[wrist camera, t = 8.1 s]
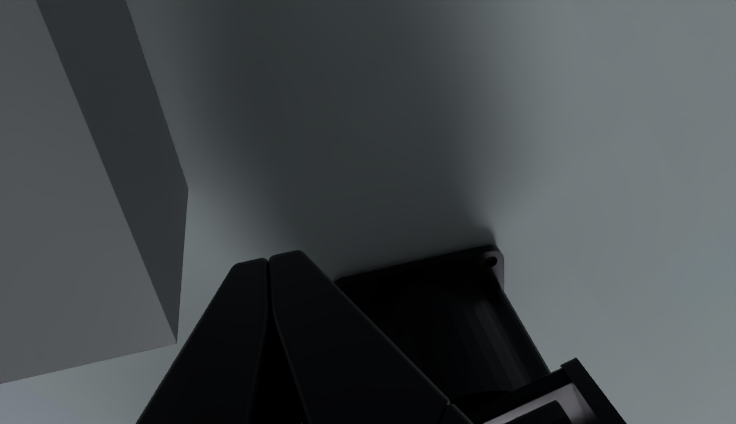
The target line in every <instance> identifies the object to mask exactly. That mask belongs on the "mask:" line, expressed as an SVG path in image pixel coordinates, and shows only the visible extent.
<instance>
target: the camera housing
mask: <svg viewBox="0 0 736 424" xmlns="http://www.w3.org/2000/svg"><path fill="white" fill-rule="evenodd" d="M187 198H188V187H187V184H186V181H185V178H184V175H183V172H182V169H181V166H180V163H179V160H178V157H177V154H176V151H175V148H174V145H173V142H172V139H171V136H170V133H169V130H168V127H167V124H166V121H165V118H164V115H163V112H162V109H161V106H160V103H159V100H158V97H157V94H156V91H155V88H154V85H153V82H152V79H151V76H150V73H149V70H148V67H147V64H146V61H145V58H144V55H143V52H142V49H141V46H140V43H139V40H138V37H137V34H136V31H135V28H134V25H133V22H132V19H131V16H130V13H129V10H128V7H127V4H126V1H125V0H0V384H2V383H7V382H11V381H15V380H20V379H24V378H28V377H33V376H37V375H41V374H46V373H50V372H55V371H59V370H63V369H68V368H72V367H76V366H81V365H85V364H89V363H94V362H98V361H103V360H107V359H111V358H116V357H120V356H124V355H129V354H133V353H137V352H142V351H146V350H151V349H155V348H159V347H164V346H168V345H172V344H177V334H178V321H179V307H180V293H181V280H182V266H183V253H184V239H185V226H186V212H187Z"/></svg>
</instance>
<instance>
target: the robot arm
mask: <svg viewBox="0 0 736 424" xmlns="http://www.w3.org/2000/svg"><path fill="white" fill-rule="evenodd" d="M489 257H493V258H492V259H491V260H489V261H485V260H486V259H487V258H489ZM343 290H349V292H347V293H345V294H344V293H343V292H342V291H343ZM301 423H302V424H626V422H625V421H624V420H623V418H622V417H621V416H620V414H619V413H618V412H617V410H616V409H615V408H614V406H613V405H612V404H611V403H610V401H609V400H608V399H607V397H606V396H605V395H604V393H603V392H602V391H601V389H600V388H599V387H598V385H597V384H596V383H595V381H594V380H593V379H592V377H591V376H590V375H589V373H588V372H587V371H586V369H585V368H584V367H583V365H582V364H581V363H580V362H579V360H578V359H577V358H574V359H572V360H570V361H568V362H566V363H564V364H562V365H561V368H560V369H558V370H556V371H554V372H552V373H551V372H550V370H549V369H548V367H547V365H546V363H545V362H544V360H543V358H542V357H541V355H540V353H539V351H538V350H537V348H536V346H535V344H534V343H533V341H532V339H531V338H530V336H529V334H528V332H527V331H526V329H525V327H524V325H523V324H522V322H521V320H520V319H519V317H518V315H517V313H516V312H515V310H514V308H513V306H512V305H511V303H510V301H509V300H508V298H507V296H506V294H505V293H504V258H503V255H502V253H501V252H500V250H499V249H498V248H497V247H496V246H494V245H485V246H481V247H476V248H472V249H468V250H463V251H459V252H454V253H450V254H445V255H441V256H436V257H432V258H428V259H423V260H419V261H414V262H410V263H405V264H401V265H396V266H392V267H388V268H383V269H379V270H374V271H370V272H365V273H361V274H357V275H352V276H348V277H343V278H340V279H338V280H336V281H335V282H334V283H333V282H332V281H331V280H330V279H329V278H328V277H327V276H326V275H325V274H324V273H323V272H322V271H321V269H320V268H319V267H318V266H317V265H316V264H315V263H314V262H313V261H312V260H311V259H310V258H309V257H308V256H307V255H306V254H305V253H304V252H302V251H300V250H295V251H291V252H286V253H282V254H277V255H273V256H271V257H270V259H269V262H268V260H267V259H265V258H259V259H254V260H250V261H245V262H241V263H237V264H235V265H234V266H233V267H232V268H231V270H230V271H229V273H228V275H227V276H226V278H225V279H224V281H223V283H222V284H221V286H220V288H219V289H218V291H217V292H216V294H215V296H214V297H213V299H212V301H211V302H210V304H209V305H208V307H207V309H206V310H205V312H204V314H203V315H202V317H201V318H200V320H199V322H198V323H197V325H196V327H195V328H194V330H193V331H192V333H191V335H190V336H189V338H188V340H187V341H186V343H185V344H184V346H183V348H182V349H181V351H180V353H179V354H178V356H177V357H176V359H175V361H174V362H173V364H172V366H171V367H170V369H169V370H168V372H167V374H166V375H165V377H164V379H163V380H162V382H161V383H160V385H159V387H158V388H157V390H156V392H155V393H154V395H153V396H152V398H151V400H150V401H149V403H148V405H147V406H146V408H145V409H144V411H143V413H142V414H141V416H140V418H139V419H138V421H137V422H136V424H301Z"/></svg>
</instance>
